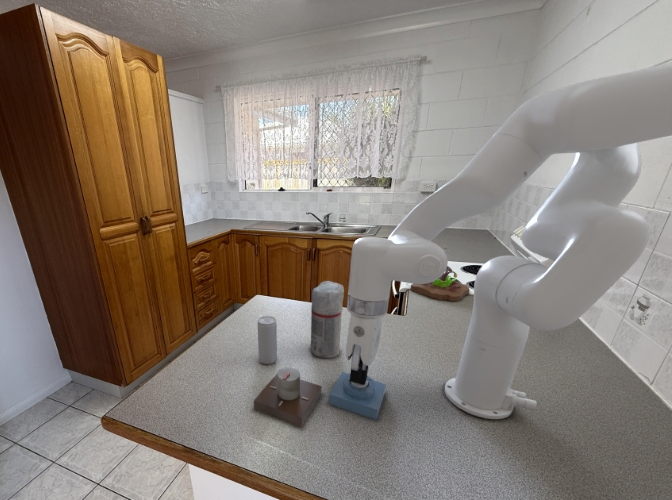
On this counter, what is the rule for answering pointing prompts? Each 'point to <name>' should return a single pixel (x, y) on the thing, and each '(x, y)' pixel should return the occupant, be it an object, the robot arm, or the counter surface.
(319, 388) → the base
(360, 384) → the white button cap
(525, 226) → the robot arm
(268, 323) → the beverage can
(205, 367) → the counter surface
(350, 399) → the button base
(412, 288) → the plant
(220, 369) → the counter surface
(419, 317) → the counter surface
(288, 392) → the lock knob
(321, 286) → the spray can
